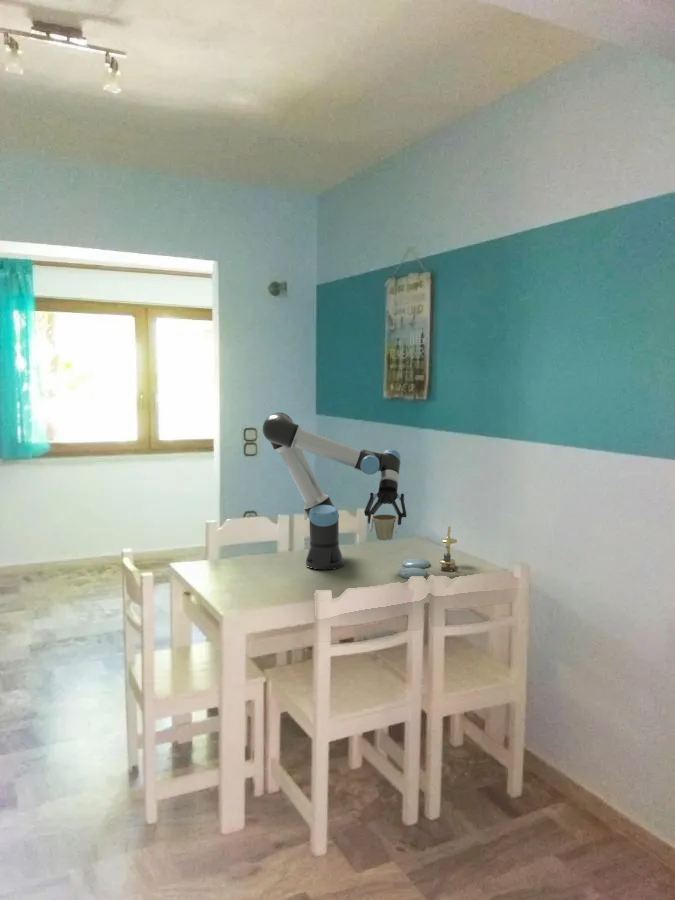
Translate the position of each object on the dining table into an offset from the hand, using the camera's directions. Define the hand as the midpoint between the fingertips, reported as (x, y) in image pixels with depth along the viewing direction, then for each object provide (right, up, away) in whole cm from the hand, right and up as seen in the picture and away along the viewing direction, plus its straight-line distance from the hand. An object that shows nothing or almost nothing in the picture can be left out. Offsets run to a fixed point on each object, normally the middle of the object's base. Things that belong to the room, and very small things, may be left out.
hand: (383, 530), depth 269 cm
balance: (+26, -15, +4) cm, 30 cm away
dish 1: (+11, -16, -4) cm, 20 cm away
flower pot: (+1, -4, +4) cm, 5 cm away
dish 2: (+14, -15, +9) cm, 22 cm away
